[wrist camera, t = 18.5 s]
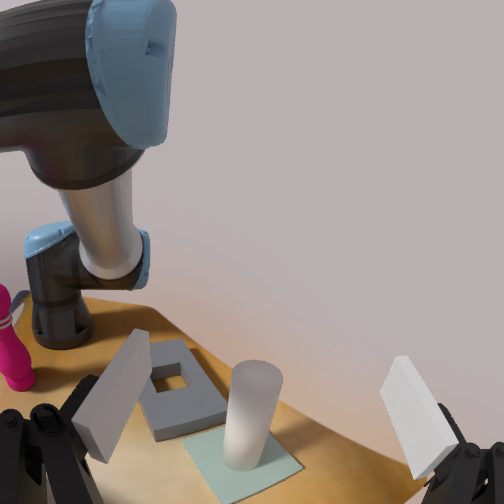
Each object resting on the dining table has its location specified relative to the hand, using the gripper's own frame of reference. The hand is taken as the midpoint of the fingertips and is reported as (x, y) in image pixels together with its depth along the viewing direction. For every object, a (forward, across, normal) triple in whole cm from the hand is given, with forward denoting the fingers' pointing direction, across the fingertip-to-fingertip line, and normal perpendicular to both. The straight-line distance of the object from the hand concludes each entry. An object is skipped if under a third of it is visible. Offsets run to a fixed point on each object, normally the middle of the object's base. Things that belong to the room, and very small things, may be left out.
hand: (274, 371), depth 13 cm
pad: (+10, 0, -26) cm, 28 cm away
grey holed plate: (+22, -13, -26) cm, 36 cm away
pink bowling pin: (+12, -39, -26) cm, 49 cm away
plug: (+10, 0, -25) cm, 27 cm away
